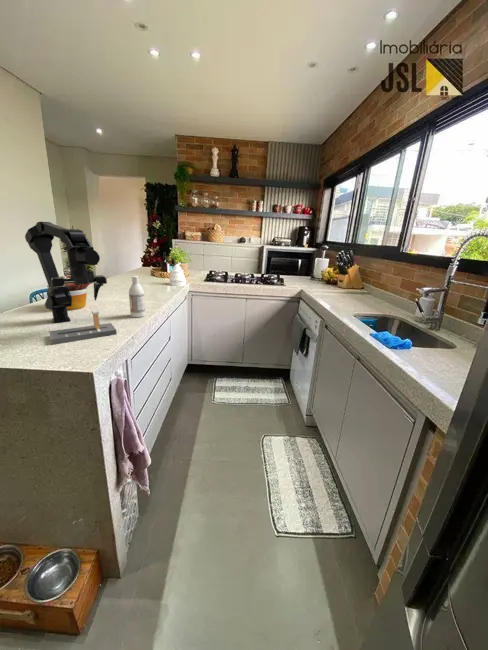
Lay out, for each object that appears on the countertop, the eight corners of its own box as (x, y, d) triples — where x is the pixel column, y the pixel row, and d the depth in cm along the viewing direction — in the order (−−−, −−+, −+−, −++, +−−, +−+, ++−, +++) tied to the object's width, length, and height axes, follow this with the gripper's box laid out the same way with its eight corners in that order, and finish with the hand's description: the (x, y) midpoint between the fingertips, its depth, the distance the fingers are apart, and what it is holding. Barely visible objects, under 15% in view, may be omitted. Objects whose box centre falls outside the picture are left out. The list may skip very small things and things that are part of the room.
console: (50, 336, 104) (49, 330, 103) (111, 327, 116) (110, 322, 116) (51, 344, 96) (50, 339, 95) (116, 334, 109) (116, 329, 108)
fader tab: (93, 326, 109) (91, 310, 107) (99, 325, 110) (97, 310, 108) (95, 329, 106) (92, 312, 104) (100, 328, 108) (98, 312, 105)
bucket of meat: (44, 310, 135) (36, 270, 128) (67, 302, 150) (61, 267, 144) (81, 313, 134) (75, 273, 127) (100, 305, 149) (96, 269, 143)
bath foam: (129, 314, 135) (126, 275, 129) (143, 313, 139) (141, 275, 132) (132, 318, 130) (128, 277, 123) (146, 316, 133) (144, 277, 127)
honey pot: (181, 282, 228) (180, 261, 222) (188, 285, 219) (188, 263, 213) (167, 284, 220) (166, 261, 214) (174, 286, 211) (173, 263, 205)
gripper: (49, 265, 93) (57, 308, 98) (107, 264, 104) (111, 303, 109) (48, 262, 101) (55, 302, 106) (101, 261, 112) (106, 297, 117)
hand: (82, 301), depth 110 cm, fingers open, 9 cm apart
